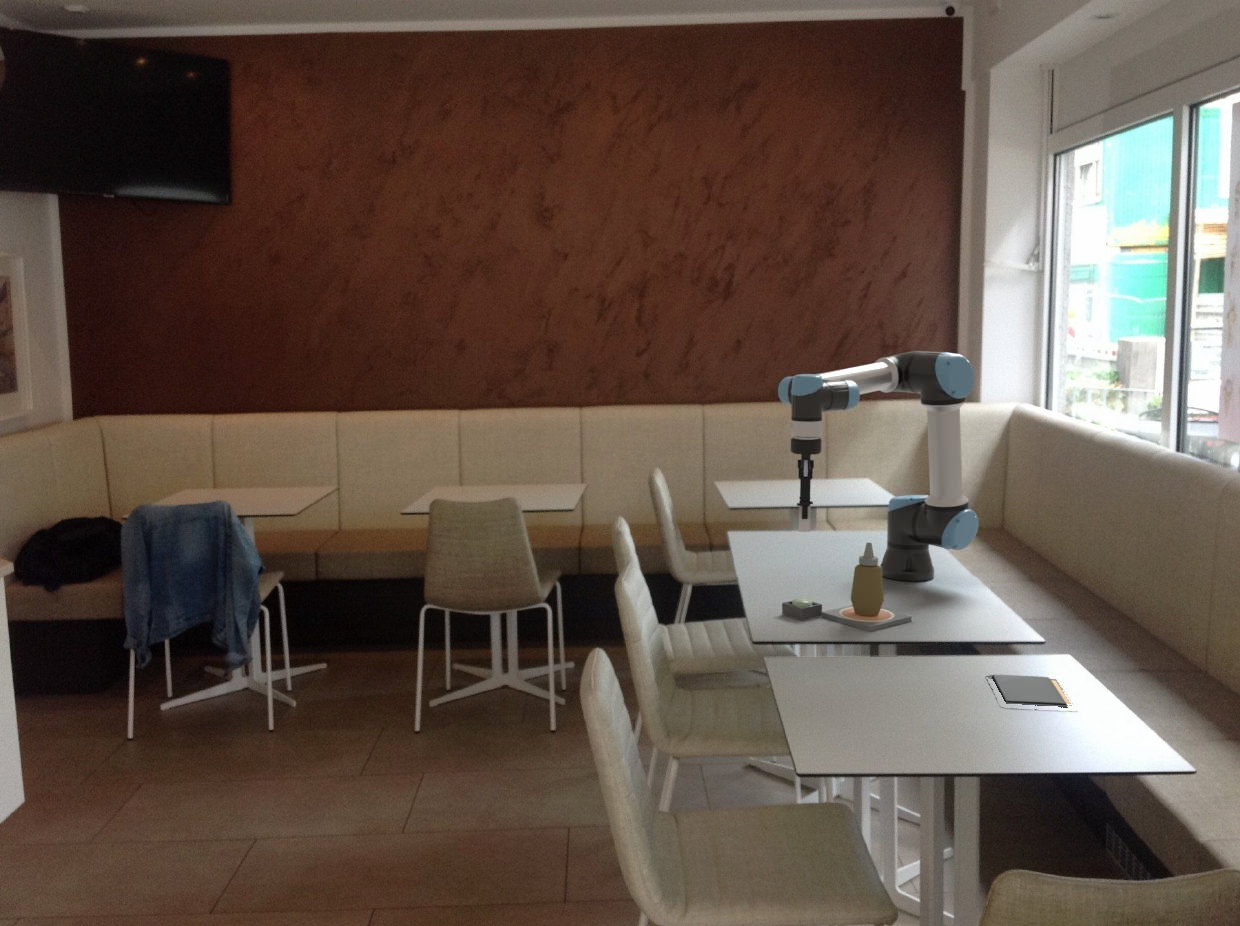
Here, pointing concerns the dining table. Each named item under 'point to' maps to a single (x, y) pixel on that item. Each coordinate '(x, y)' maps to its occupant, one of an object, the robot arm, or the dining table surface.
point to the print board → (866, 618)
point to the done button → (802, 602)
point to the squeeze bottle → (867, 585)
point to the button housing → (802, 611)
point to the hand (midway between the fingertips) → (804, 530)
